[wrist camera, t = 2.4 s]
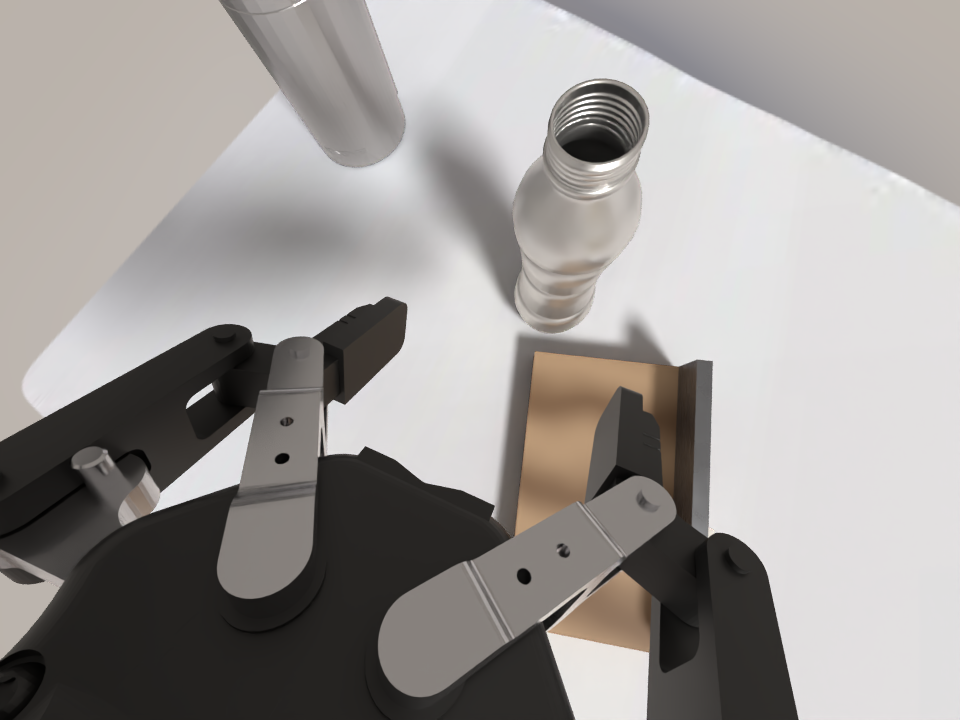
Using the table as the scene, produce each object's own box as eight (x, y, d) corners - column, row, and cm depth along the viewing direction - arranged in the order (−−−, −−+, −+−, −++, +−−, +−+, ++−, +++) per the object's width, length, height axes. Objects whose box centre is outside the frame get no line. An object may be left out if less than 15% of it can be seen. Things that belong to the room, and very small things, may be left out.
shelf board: (533, 357, 32) (534, 351, 30) (678, 373, 31) (692, 368, 28) (506, 607, 29) (505, 623, 26) (667, 638, 27) (682, 659, 25)
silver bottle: (598, 281, 33) (717, 63, 13) (573, 350, 32) (660, 228, 12) (530, 259, 34) (546, 27, 14) (503, 326, 33) (481, 176, 13)
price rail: (678, 366, 28) (697, 359, 25) (700, 369, 28) (721, 362, 25) (666, 655, 25) (686, 686, 22) (691, 661, 25) (714, 692, 22)
